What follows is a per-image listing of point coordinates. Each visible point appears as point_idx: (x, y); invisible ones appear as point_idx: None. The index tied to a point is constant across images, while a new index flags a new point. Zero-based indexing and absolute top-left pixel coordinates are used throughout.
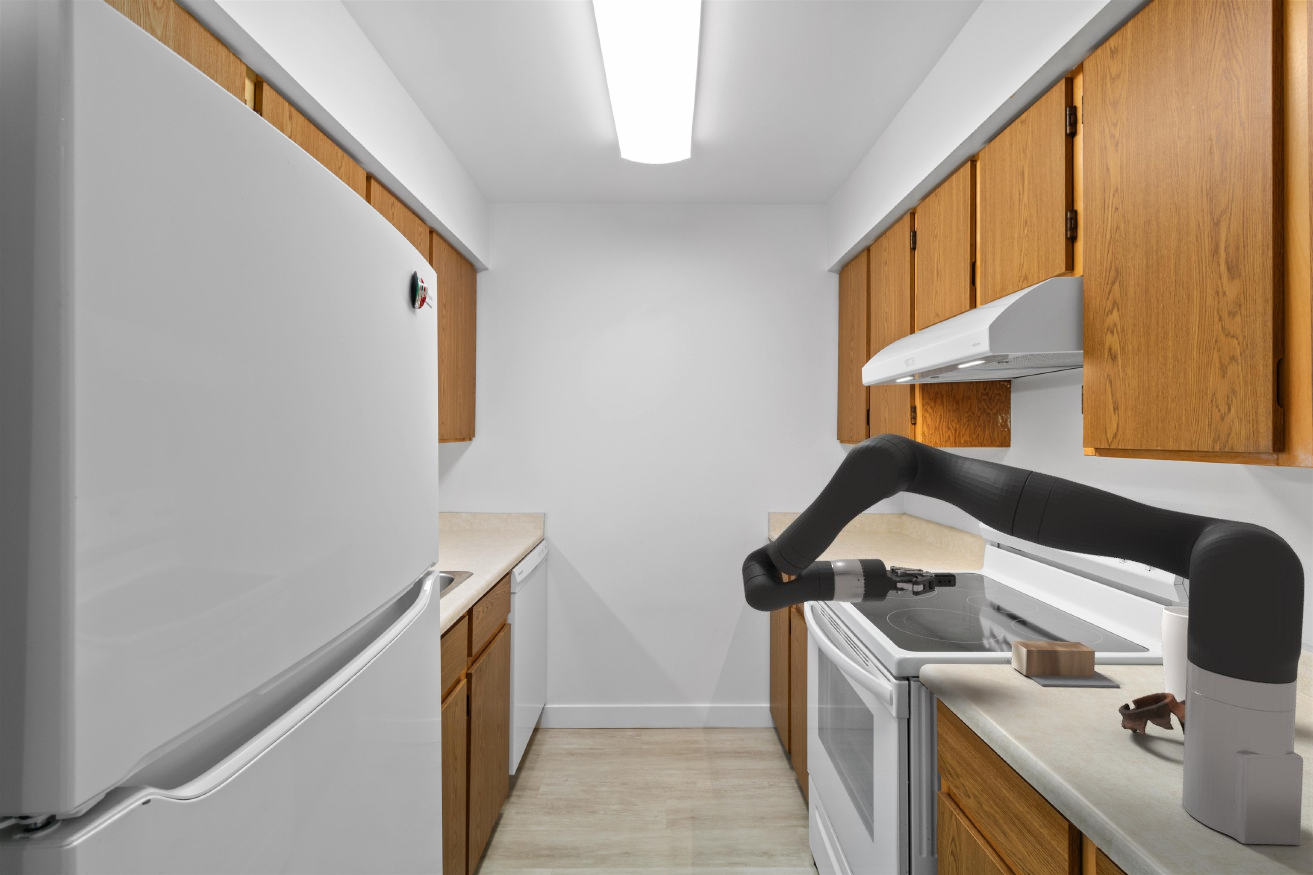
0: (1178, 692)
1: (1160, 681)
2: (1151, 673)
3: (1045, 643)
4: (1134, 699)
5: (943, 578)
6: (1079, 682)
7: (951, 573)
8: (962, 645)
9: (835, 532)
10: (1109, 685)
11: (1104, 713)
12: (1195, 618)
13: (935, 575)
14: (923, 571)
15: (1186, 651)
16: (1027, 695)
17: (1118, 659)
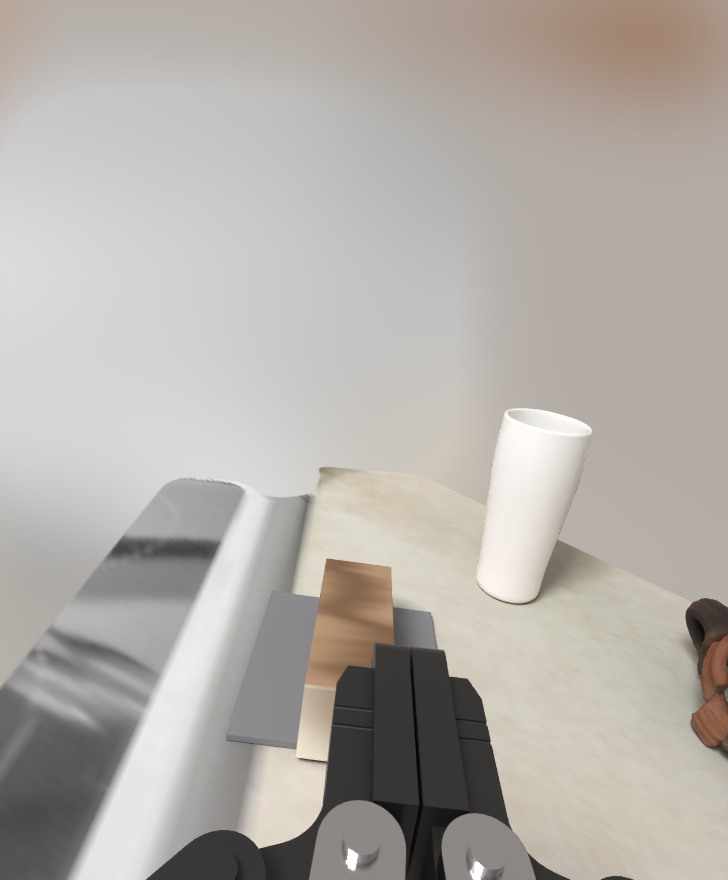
0: (536, 577)
1: (387, 551)
2: (348, 539)
3: (334, 620)
4: (716, 678)
5: (490, 767)
6: None
7: (401, 648)
8: (23, 800)
9: None
10: (432, 628)
11: (609, 734)
12: None
13: (464, 809)
14: (311, 872)
15: (570, 500)
16: (547, 868)
17: (273, 536)
